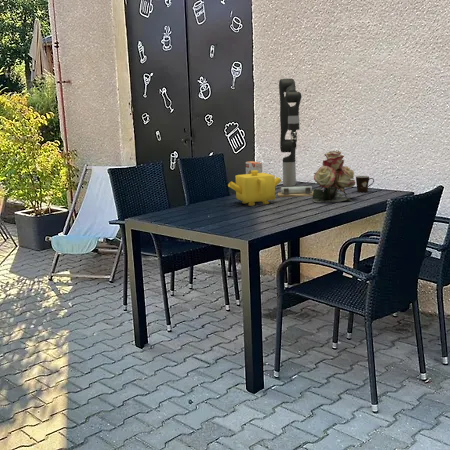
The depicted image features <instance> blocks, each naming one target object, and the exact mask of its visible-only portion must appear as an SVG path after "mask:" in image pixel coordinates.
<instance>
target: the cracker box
mask: <svg viewBox="0 0 450 450" xmlns="http://www.w3.org/2000/svg"><path fill="white" fill-rule="evenodd" d="M253 170H257V171H258V173H263V162H258V161H254V160H252V161H251V160H249V161H246V162H245V174H252V173H251V171H253Z"/></svg>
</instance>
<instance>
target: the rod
mask: <svg viewBox="0 0 450 450" xmlns="http://www.w3.org/2000/svg"><path fill="white" fill-rule="evenodd" d="M309 187H310V193H312V191H313V187H312V185H304V186H303V185H302V186H300V185H299V186H281V187H280V193H281V194H284V188H289V194H294V193H305V188H309Z"/></svg>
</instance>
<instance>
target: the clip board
mask: <svg viewBox="0 0 450 450" xmlns="http://www.w3.org/2000/svg"><path fill="white" fill-rule="evenodd" d="M313 191H314V190H312V193H310V187H309V188H305V193H294V194H289V188H284V194H281V192H277V196H278V198H292V197H293V198H294V197H296V198H297V197H313Z"/></svg>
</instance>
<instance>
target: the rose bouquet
mask: <svg viewBox="0 0 450 450" xmlns="http://www.w3.org/2000/svg"><path fill="white" fill-rule="evenodd" d="M323 155H324V157H325V158H326V159H325V160H324V159H323V160H322V166H321V167H319V168H318V170H316V172H314V173H313V180H314V181H315V182H316V185H318V188H314V189H313V190H312V191H313V196H312V201H313V202H314V203H327V202H328V203H340V202H344V201H349V202H353V199H350V198H348V196H347V195H348V194H347V193H346V190H345V188H349V189H350V188H352V187H354V186H355V185H356V179H355V172H354V170H353V169H351V168H350V167H349V166H345V165H344V162H345V160H344V157H345V156H344V155H342V151H340V150H337V151H336V150H331V151H330V150H329V151H328V152H326V153H324V154H323ZM338 191H340V192H342V193H343V194H344V196H345V197H342V196H343V194H342V193H339V192H338Z"/></svg>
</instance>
